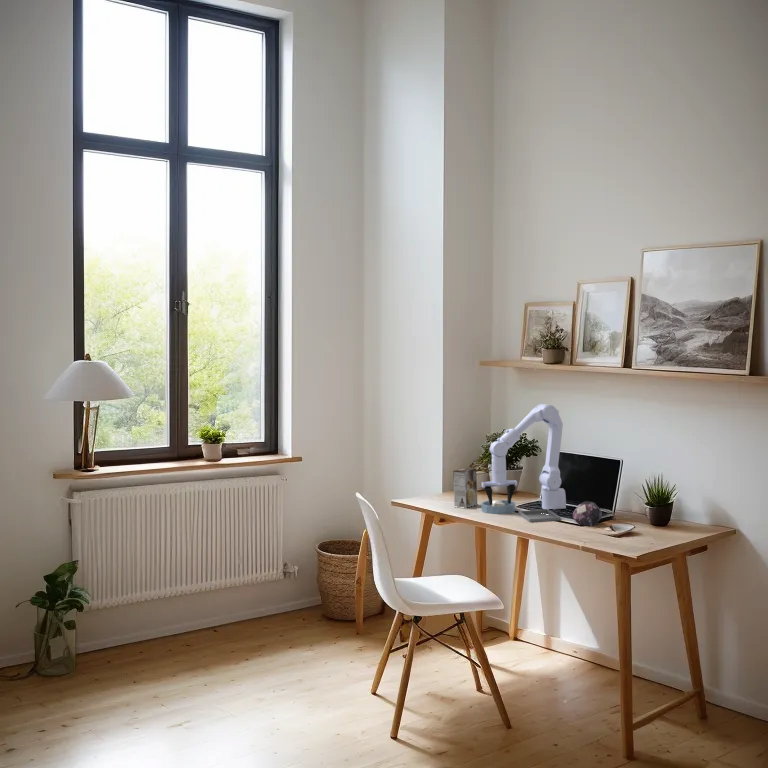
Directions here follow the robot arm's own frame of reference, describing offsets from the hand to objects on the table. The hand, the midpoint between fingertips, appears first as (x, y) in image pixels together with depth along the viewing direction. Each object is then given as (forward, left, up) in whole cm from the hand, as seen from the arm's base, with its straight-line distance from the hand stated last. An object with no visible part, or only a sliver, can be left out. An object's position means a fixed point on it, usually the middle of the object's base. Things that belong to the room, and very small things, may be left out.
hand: (500, 503), depth 356 cm
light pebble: (0, -5, -3) cm, 6 cm away
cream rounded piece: (0, 0, -3) cm, 3 cm away
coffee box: (+10, -20, -4) cm, 22 cm away
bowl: (0, -3, -4) cm, 5 cm away
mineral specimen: (-26, +30, -4) cm, 40 cm away
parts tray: (-12, +14, -4) cm, 19 cm away
